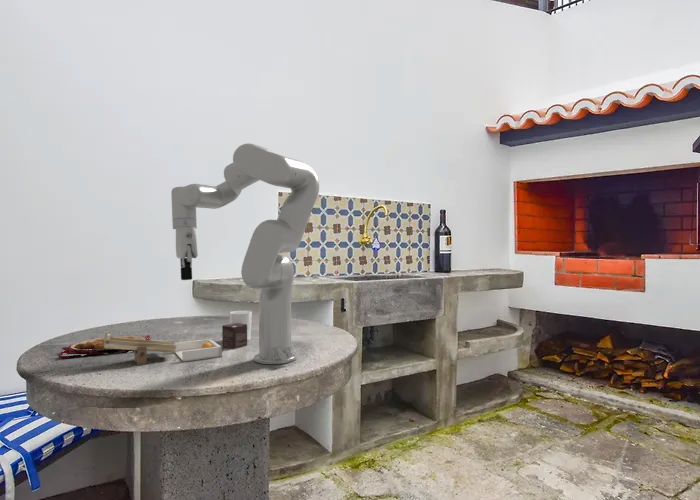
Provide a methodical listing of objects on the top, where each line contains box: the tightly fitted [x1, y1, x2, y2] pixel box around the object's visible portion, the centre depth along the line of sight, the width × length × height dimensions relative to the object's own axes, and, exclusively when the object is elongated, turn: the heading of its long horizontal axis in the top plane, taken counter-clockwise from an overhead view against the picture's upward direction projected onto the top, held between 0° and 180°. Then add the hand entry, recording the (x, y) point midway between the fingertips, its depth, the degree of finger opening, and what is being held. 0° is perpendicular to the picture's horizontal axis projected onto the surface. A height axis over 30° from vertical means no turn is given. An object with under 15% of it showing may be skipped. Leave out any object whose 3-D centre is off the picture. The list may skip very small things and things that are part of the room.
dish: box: [173, 338, 223, 363], centre depth 144 cm, size 14×12×3 cm
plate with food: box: [58, 334, 152, 358], centre depth 156 cm, size 25×26×4 cm
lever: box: [104, 331, 176, 354], centre depth 139 cm, size 13×19×4 cm, turn 121°
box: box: [221, 323, 248, 350], centre depth 156 cm, size 6×6×7 cm
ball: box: [202, 342, 212, 349], centre depth 146 cm, size 3×3×3 cm
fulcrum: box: [133, 346, 148, 366], centre depth 136 cm, size 8×2×5 cm, turn 31°
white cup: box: [229, 310, 253, 341], centre depth 166 cm, size 8×8×10 cm
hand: (186, 279), depth 152 cm, fingers closed
